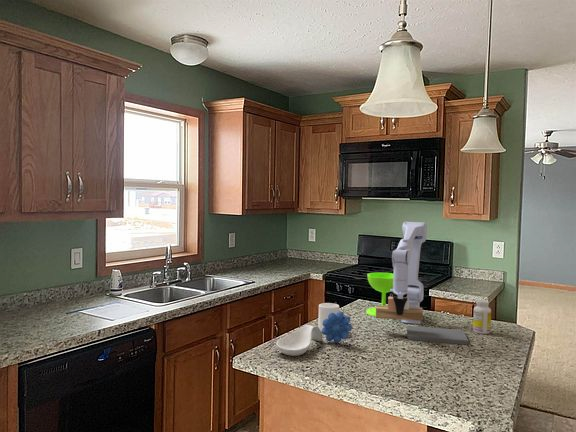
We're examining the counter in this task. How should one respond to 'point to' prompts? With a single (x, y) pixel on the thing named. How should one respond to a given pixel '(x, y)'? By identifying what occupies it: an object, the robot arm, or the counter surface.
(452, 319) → the counter surface
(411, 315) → the pallet
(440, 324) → the counter surface
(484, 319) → the supplement bottle
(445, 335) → the dock
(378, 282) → the wineglass
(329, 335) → the blue lobed knob
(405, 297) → the block
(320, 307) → the mug
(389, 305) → the terracotta crate
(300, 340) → the spoon rest
